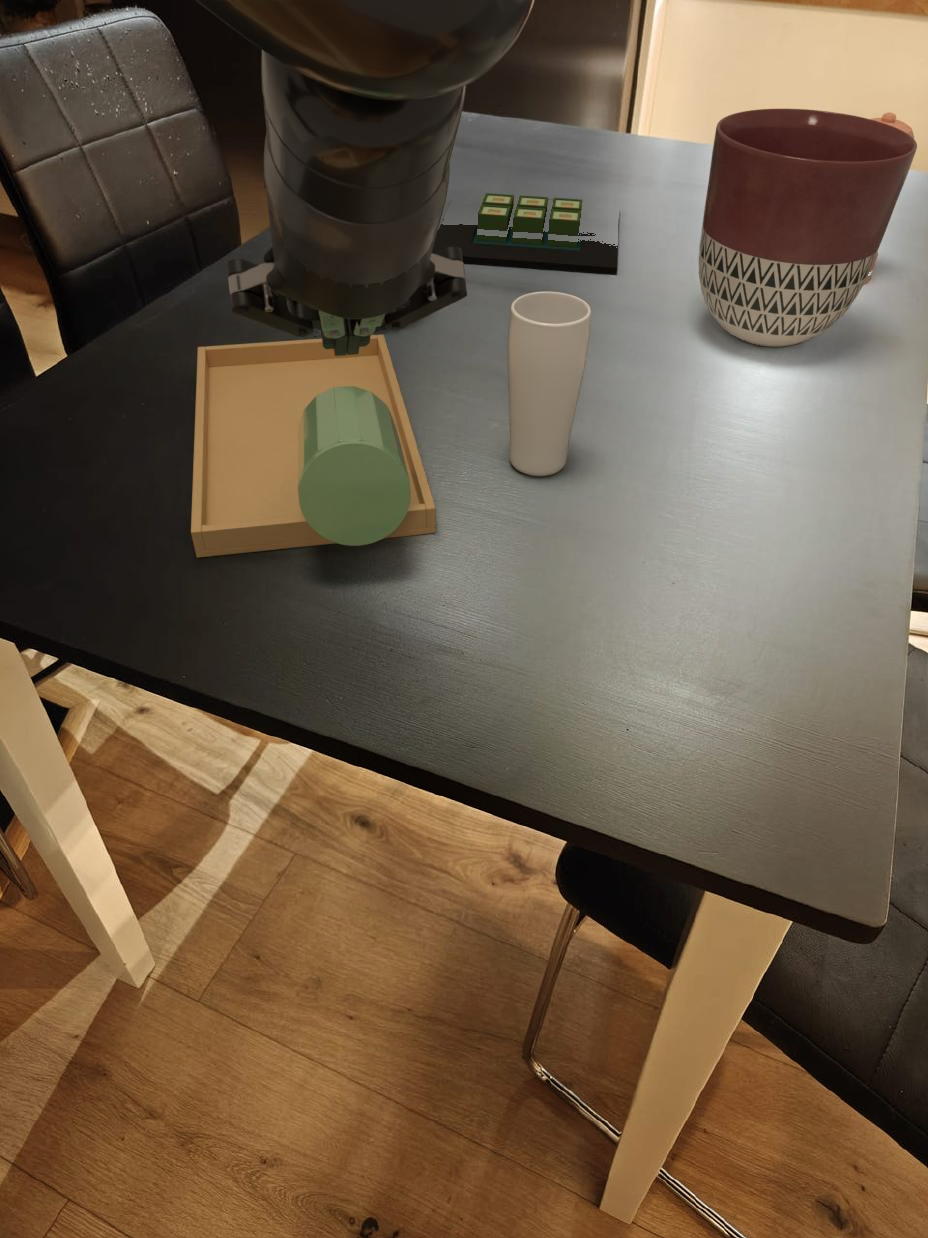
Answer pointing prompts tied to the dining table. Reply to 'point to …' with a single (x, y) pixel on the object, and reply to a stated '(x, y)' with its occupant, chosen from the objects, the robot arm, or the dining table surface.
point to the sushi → (528, 250)
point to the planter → (795, 218)
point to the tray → (279, 441)
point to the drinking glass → (545, 377)
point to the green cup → (351, 467)
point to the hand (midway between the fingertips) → (344, 339)
